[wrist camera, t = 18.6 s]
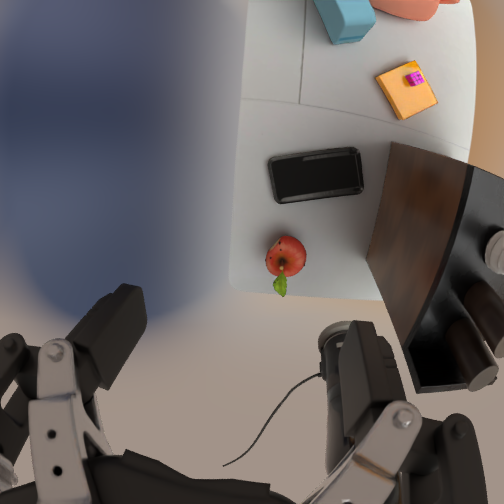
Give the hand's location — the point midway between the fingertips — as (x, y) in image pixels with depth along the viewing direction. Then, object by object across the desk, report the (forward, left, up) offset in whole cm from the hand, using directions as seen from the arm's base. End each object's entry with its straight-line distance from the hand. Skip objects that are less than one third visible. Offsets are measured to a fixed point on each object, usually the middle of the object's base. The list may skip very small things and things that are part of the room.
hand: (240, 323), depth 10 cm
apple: (-10, -11, -38) cm, 41 cm away
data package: (+26, +12, -38) cm, 48 cm away
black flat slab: (+12, -22, -15) cm, 29 cm away
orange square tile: (+25, -5, -38) cm, 46 cm away
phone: (+3, -5, -38) cm, 39 cm away
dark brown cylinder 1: (+10, -23, -14) cm, 28 cm away
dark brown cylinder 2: (+6, -26, -14) cm, 30 cm away
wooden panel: (+12, -22, -38) cm, 45 cm away
